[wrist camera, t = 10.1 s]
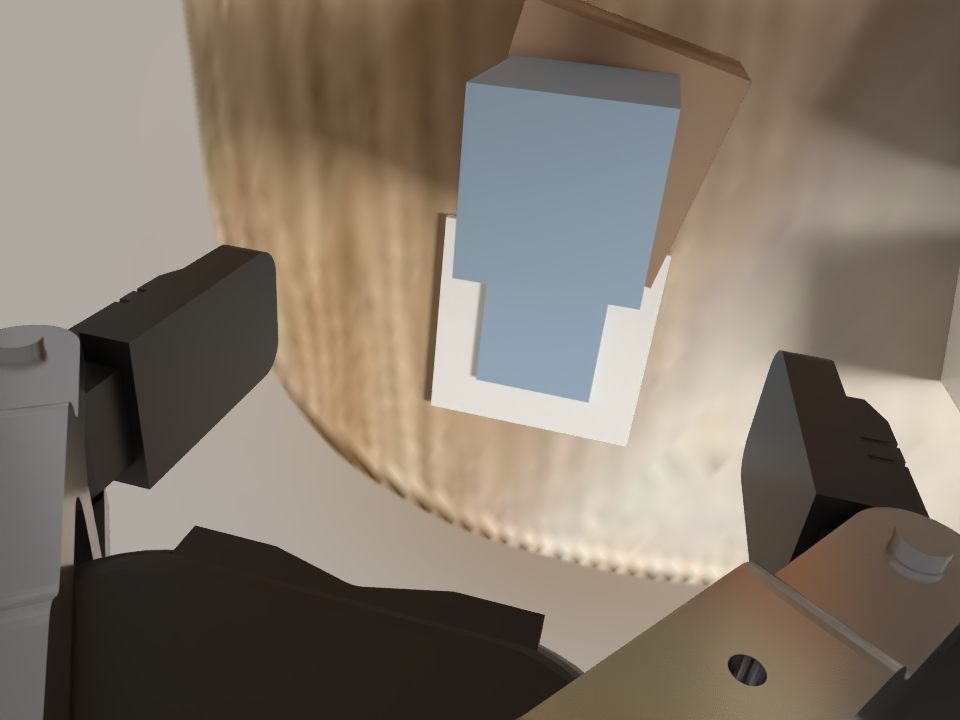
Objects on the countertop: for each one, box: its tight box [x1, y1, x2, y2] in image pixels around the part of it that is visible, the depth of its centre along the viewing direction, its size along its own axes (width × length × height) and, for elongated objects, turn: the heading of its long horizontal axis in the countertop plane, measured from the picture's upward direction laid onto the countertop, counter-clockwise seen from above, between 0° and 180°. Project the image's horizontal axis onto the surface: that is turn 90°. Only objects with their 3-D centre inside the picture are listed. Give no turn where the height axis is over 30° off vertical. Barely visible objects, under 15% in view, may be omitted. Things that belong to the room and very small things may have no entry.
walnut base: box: [506, 0, 751, 289], centre depth 26 cm, size 7×7×5 cm
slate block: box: [452, 55, 681, 310], centre depth 21 cm, size 5×5×6 cm
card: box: [431, 214, 672, 446], centre depth 32 cm, size 9×9×1 cm
